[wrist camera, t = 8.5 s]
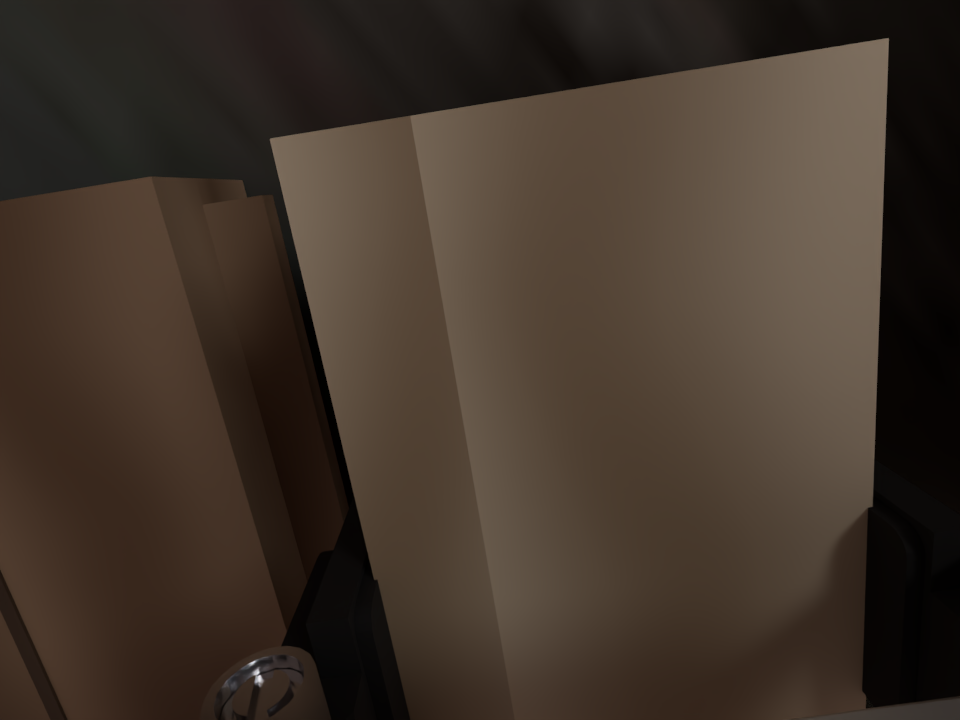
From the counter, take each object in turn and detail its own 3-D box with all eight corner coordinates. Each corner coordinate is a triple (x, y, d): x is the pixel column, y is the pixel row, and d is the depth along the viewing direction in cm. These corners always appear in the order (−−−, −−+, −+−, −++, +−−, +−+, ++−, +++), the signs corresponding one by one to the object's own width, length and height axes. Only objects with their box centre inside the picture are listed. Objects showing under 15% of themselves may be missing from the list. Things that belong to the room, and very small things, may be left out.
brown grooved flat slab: (292, 171, 14) (219, 164, 10) (405, 658, 17) (385, 793, 14) (-207, 252, 14) (-472, 277, 10) (13, 710, 18) (-116, 855, 14)
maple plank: (723, 99, 10) (889, 37, 6) (747, 741, 14) (856, 954, 10) (345, 160, 10) (269, 138, 6) (472, 779, 14) (474, 1005, 10)
